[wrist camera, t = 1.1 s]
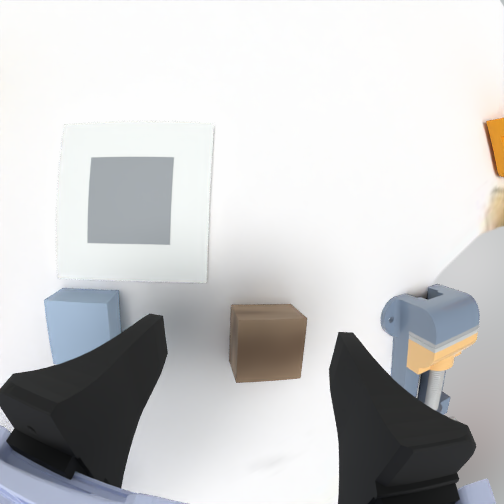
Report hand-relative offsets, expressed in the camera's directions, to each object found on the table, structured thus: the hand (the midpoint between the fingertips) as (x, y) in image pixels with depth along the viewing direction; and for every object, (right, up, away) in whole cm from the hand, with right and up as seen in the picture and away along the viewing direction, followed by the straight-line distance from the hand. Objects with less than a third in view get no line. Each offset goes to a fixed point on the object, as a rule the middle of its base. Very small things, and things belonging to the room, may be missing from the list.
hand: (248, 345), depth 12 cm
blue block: (-13, -2, +11) cm, 17 cm away
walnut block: (+1, -3, +14) cm, 14 cm away
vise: (+18, -9, +18) cm, 27 cm away
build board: (-9, +8, +10) cm, 16 cm away
